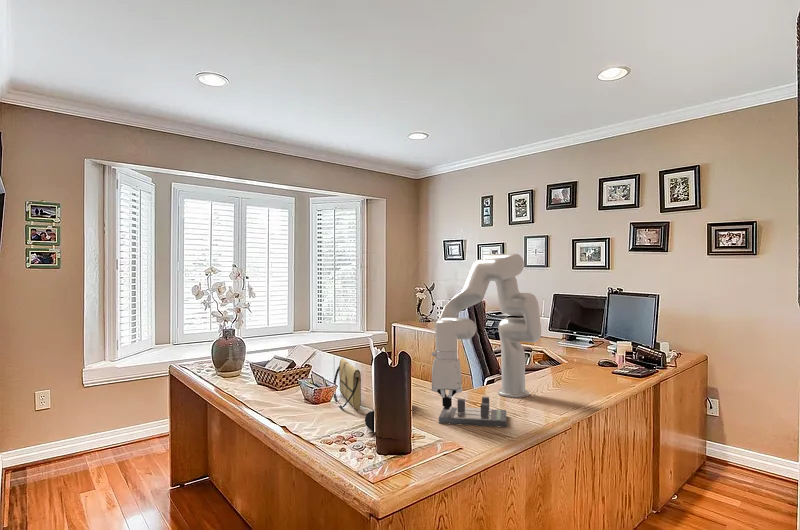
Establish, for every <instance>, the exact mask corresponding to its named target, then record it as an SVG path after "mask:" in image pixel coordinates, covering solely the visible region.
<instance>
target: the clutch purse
mask: <svg viewBox="0 0 800 530" xmlns="http://www.w3.org/2000/svg"><path fill="white" fill-rule="evenodd" d="M360 371H361V370H360V369H357V368H356V367H355V366H354V365H352V364H351V363H349V361H347V360H346V359H345V358H341V359H340V361H339V366H338V367H337V369H336V372H335V375H334V379H333V384H335V386H336V383H337V378H338V375H339V391H340V394H342V395H343V396H344V398H345V399H347V400H346V401H345V403H344V404H343V406H342V405H341V404H340V402H339V400H338V398H337V393H336V391H335V394H333V399H334V401H336V402H338V403H339V404H340V407H339V408H340V409H342V408H344V407H345V406H347V404H348V402H349V403H350V404H351V406H353V408H354V409H355V410H356V411H358V410H360V407H361V405H362V378H361V372H360ZM336 402H335V403H336Z"/></svg>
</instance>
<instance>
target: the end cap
mask: <svg viewBox="0 0 800 530" xmlns="http://www.w3.org/2000/svg"><path fill="white" fill-rule="evenodd" d="M374 410H375V409H372V410H371V411H368V412H367V413H366V415H365V417H364V423H365V426H366V427H367V429H368V430H369V431H371V433H374ZM374 434H375V433H374Z"/></svg>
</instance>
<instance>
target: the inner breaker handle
mask: <svg viewBox="0 0 800 530" xmlns="http://www.w3.org/2000/svg"><path fill="white" fill-rule="evenodd" d="M481 403H487V404H488V410H489V409H490V396H482V397H481Z"/></svg>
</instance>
